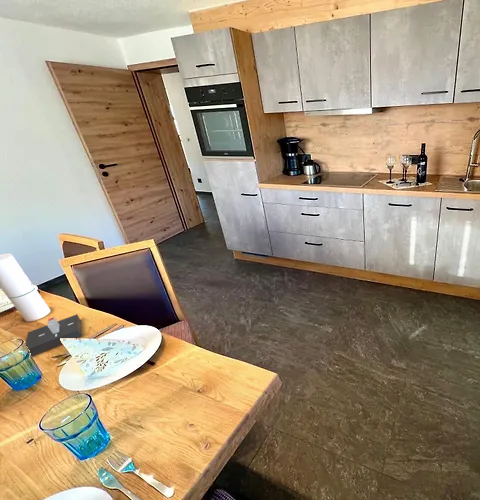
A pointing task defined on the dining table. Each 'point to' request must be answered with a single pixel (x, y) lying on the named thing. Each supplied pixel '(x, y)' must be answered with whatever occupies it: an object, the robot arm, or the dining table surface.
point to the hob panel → (53, 335)
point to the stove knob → (53, 325)
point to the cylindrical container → (21, 289)
